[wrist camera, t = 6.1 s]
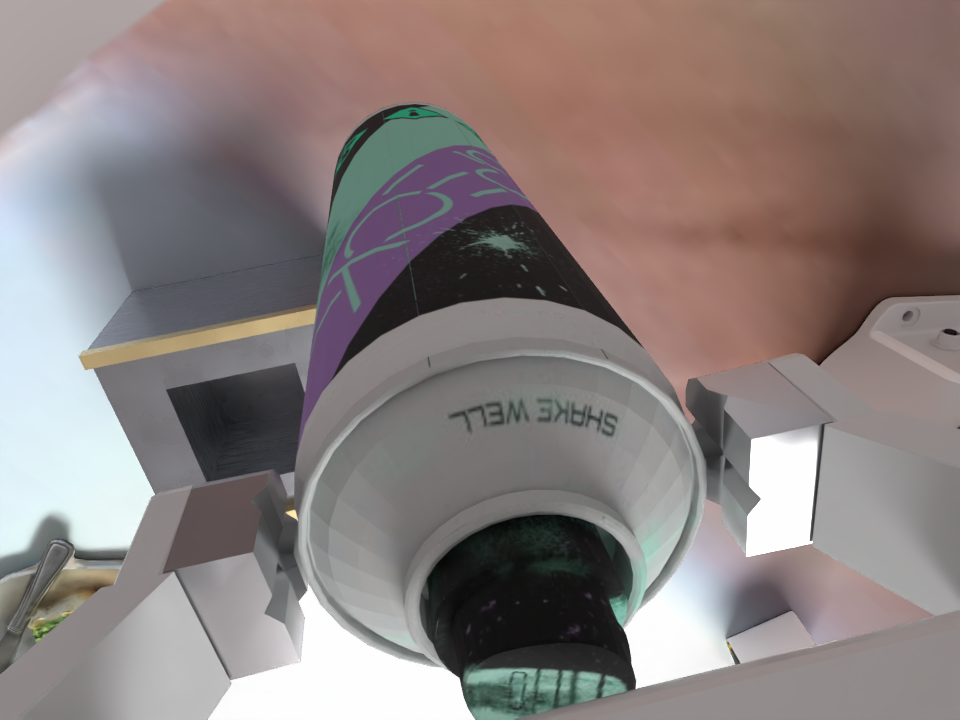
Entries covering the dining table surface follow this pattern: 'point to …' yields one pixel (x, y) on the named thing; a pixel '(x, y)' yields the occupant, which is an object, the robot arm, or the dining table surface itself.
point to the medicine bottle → (770, 639)
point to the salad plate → (47, 596)
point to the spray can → (481, 431)
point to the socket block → (213, 373)
